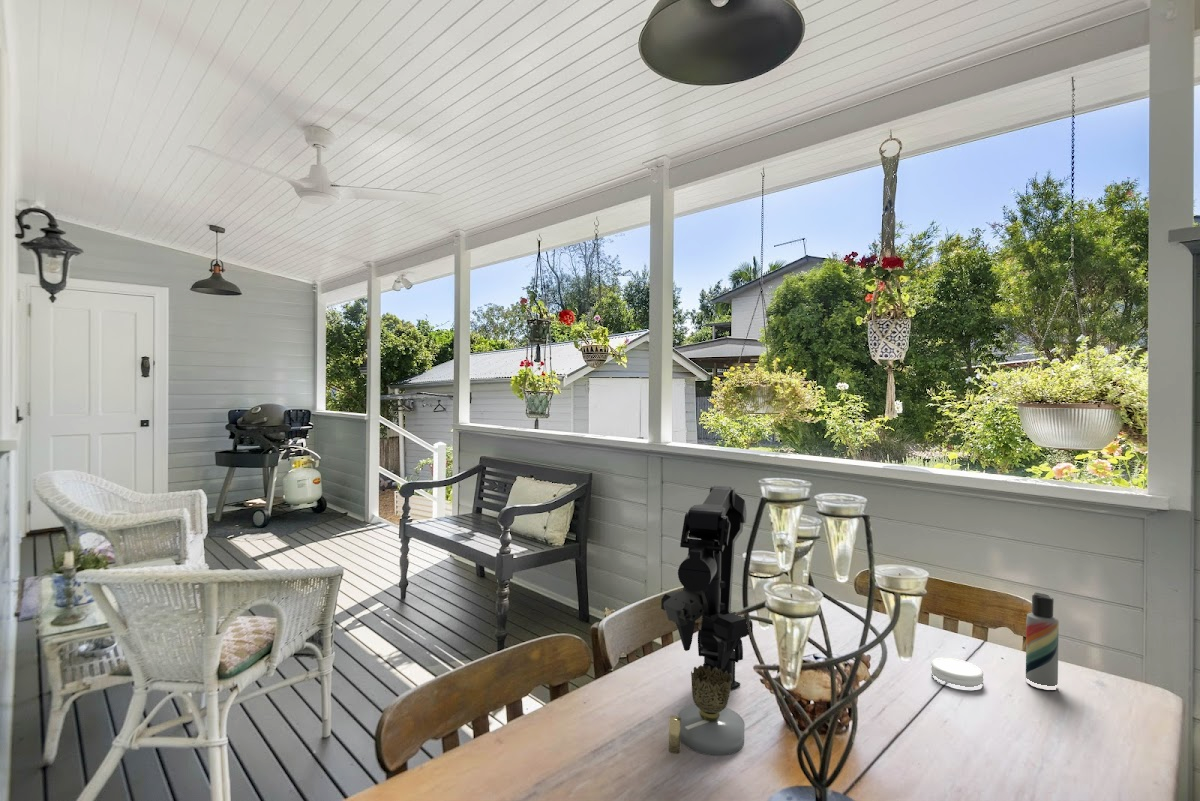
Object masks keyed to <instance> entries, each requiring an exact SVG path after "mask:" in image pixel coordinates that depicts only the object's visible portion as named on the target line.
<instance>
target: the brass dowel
mask: <svg viewBox="0 0 1200 801" xmlns="http://www.w3.org/2000/svg"><path fill="white" fill-rule="evenodd" d="M680 734H681V718H680V717H678V716H677V715H670V716H669V717H668V751H669V753H671V754H672V755H673V754H674V755H676V754H680V752H681V742H680Z"/></svg>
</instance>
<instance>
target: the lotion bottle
mask: <svg viewBox="0 0 1200 801" xmlns="http://www.w3.org/2000/svg"><path fill="white" fill-rule="evenodd" d="M1031 600H1032V601H1031V606H1032V607H1031V612H1028V613H1027V614H1026V623H1025V624H1026V628H1025V629H1026V632H1025V635H1026V636H1025V638H1026V639H1025V679H1026V678H1027V679H1029V680H1030V681H1032V682H1034V683H1037V684H1041V685H1047V686H1055V685H1057V684H1058V683H1059V634H1060V633H1059V631H1060V630H1059V629H1060V627H1059V625H1060V623H1059V622H1060V621H1059V618H1057V617H1055V616H1054V603H1055V602H1054V598H1053V597H1052V596H1051V595H1049V594H1045V593H1040V592H1034V593H1033V594H1032V595H1031ZM1058 685H1059V684H1058Z"/></svg>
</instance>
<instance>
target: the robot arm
mask: <svg viewBox="0 0 1200 801" xmlns="http://www.w3.org/2000/svg"><path fill="white" fill-rule="evenodd" d="M746 506H747V505H746V500H745V499H744V498H742V497H741V496H740V495H739V494H737V493H736V489H735V488H734V487H732V486H726V485H725V486H722V485H714V486H710V488H709V493H708V494H707V497H706V498H705V499H704V501H703V503H702V504H694V505H692V506H690V507H689V509H688V512H686V513H685V515H684V519H683V525H682V531H681V538H680V543H679V545H680V548H682V549H683V548H685V549H688V554H687V556H686V557H685V558H684V560H683V561H682V562H681V563H680V565H679V567H678V568H677V569H678V570H677V575H678V576H677V577H678V580H679V582H680V584H681V585H682V586H683V588H682V589H681V590H677V591H673V592H667V593H665V594H664V595H663V597H661V602H660V603H661V604H660V607H661V610H663V611H665V614H666V617H667V620H668V621H669V622H671V621H672V622H674V623H675V625H676V628H677V631H678V634H679V638H680V641H681V644H682V648H683V650H684V651H685V652H687V651H690V650H691V647H692V646H691V645H692V642H693V637H694V630H695V624H696V621H697V620H699V619H700V618H702V619H701V624H700V626H699V628H698V632H697V650H698V652H697V654H698V657H703V658H704V659H703V664H702V666H703V667H704V668H705V669H707V667H708V666H710V670H711V671H712V670H713V668H714V667H717V669H718V670H719V669H722V672H723V675H724V673H725V672H726V671H727V673H728V674H730V673H731V674H732V683H731V689H730V691H731V690H733V689H736V688H740V687H741V683H740V682H739V681H737V680H736V664H737V663H739V661H742V660H743V659H744V648H743V640H742V638H745V637H747V636H750V635H749V632H748V629H747V624H746V619H745V618H743V617H741V616H738V615H739V614H740V613H739V614H737V615H735V614H736V613H737V612H736V611H732V595H733V593H732V592H733V578H734V563H735V562H734V560H735V547H736V546H735V545H736V544H735V543H736V541H737V540H738V538H739V537H740V536H741V534H742V533H743V530H744V524H746V523H747V507H746ZM688 537H689V538H688ZM753 626H754V625H753V620H751V619H750V627H751V632H752V633H753V631H754V630H753Z"/></svg>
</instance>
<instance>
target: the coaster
mask: <svg viewBox="0 0 1200 801" xmlns="http://www.w3.org/2000/svg"><path fill="white" fill-rule="evenodd" d="M930 663H931V664H930V665H931V667H930V670H931V672H932V674H933V675H934V676H936V677H937V678H938V679H940V680H942V681H945V682H947V683H951V684H955V685H960V686H965V687H974V686H978V685H980V684H982V683H983V684H984V672H983V671H982V669H981V668H980V667H979V666H977V665H975V663H971V662H968V661H966V660H962V659H957V658H954V657H936V658H934V659H933V660H932V661H931V662H930Z"/></svg>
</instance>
